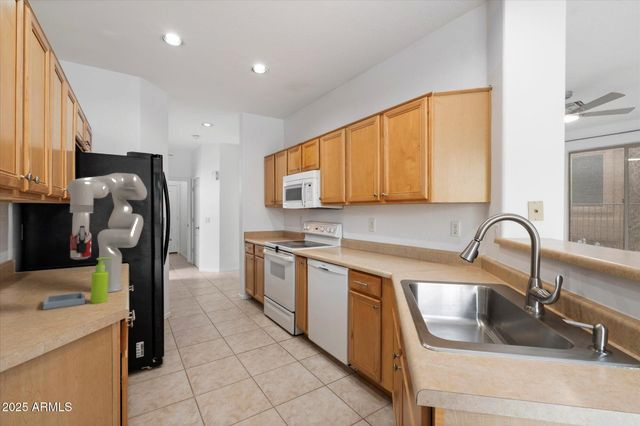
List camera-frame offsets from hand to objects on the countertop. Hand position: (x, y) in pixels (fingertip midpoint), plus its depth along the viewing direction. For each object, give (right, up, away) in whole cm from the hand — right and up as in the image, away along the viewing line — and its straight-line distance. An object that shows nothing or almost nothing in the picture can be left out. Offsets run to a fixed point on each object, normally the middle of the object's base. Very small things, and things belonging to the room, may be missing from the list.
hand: (80, 251), depth 120 cm
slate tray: (-10, -24, +4) cm, 26 cm away
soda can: (0, -3, 0) cm, 3 cm away
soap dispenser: (+2, -24, +8) cm, 26 cm away
